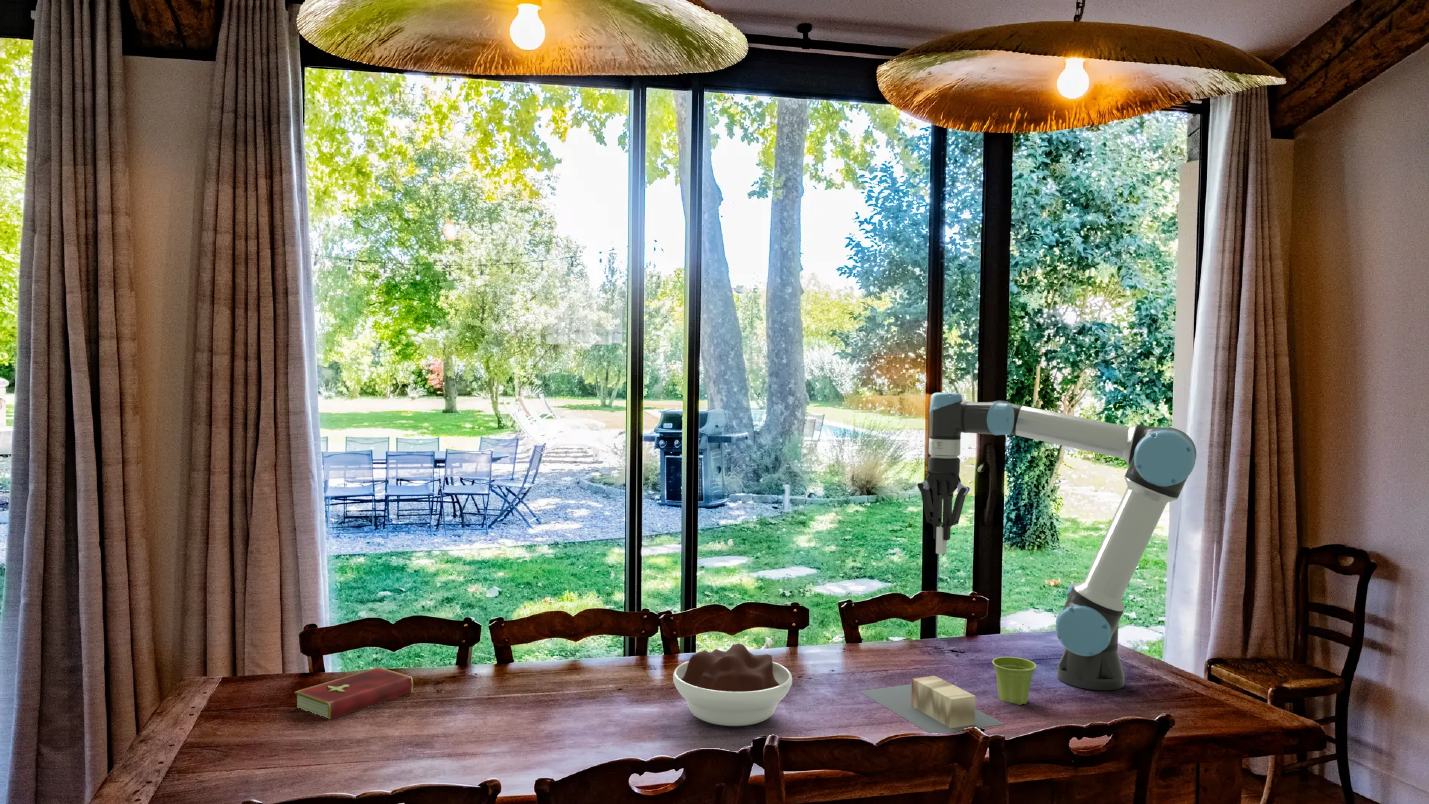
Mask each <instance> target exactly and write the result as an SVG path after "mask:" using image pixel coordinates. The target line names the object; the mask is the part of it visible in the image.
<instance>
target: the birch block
mask: <svg viewBox="0 0 1429 804" xmlns="http://www.w3.org/2000/svg"><path fill="white" fill-rule="evenodd" d="M911 684H912V693H911V706H913V707H914V708H916V709H918V710H920V711H921V712H923V713H925V714H927V715H928V716H930V717H932V718H934V719H935V720H937V721H939V722H941V723H942V724H944V725H946V726H948V727H949V728H956V727H962V726H968V725H975V709H976V695H974V694H973V693H970V692H968V691H966V690H965V689H963V688H960V687H958V686H957V685H954V684H952V683H950V682H949V681H947V680H944V679H943V678H941V677H938V676H937V675H930V676H921V677H913V678H911Z"/></svg>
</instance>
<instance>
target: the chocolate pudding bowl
mask: <svg viewBox="0 0 1429 804" xmlns="http://www.w3.org/2000/svg"><path fill="white" fill-rule="evenodd" d="M672 679H673V680H672V681H673V684H674V687H675V688H676V690H677V691H678V693H679V694H680V695H681V697H682V698H683V699H684V700H685V701H686V704H687V706H688V708H689V711H690V713H691V714H692V715H693V716H695V718H698V719H699V720H701V721H703V722H706V723H709V724H713V725H719V726H727V727H743V726H751V725H752V726H753V725H756V724H758V723H761V722H764V721H766V720H768V719H770V718H771V717H772V716H773V715H774V713H775V710H776V709H777V707H778V705H779V702H781V701H782V700H783V699H784V698H785V697H786V695H787V694H788V693H789V690H790V688H791V687H792V685H793V676H792V673H791V672H790V670H788V668H786V667H785V666H783V665H782V664H780V663H778V662H775V661H773V657H772V655H770V654H768V653H766V654H759V655H755V654H753V653H751V652H750V651H749V650H748V649H747V647H746V646H745V645H744V644H742V643H735V644H734V643H732V645H731V646H730V647H729V649H727V651H722V650H719V649H717V648H715V649H714V650H713V651H711V652H709V651H708V650H706V649H704V650H702V651H698V652H697V653H694V654H692V655H691V656H690V658H689V660H687V661H685V662H683V663H681V664H679V665H678V666H677V667H676V668H675V669H674V672H673V674H672Z"/></svg>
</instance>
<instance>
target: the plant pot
mask: <svg viewBox="0 0 1429 804" xmlns="http://www.w3.org/2000/svg"><path fill="white" fill-rule="evenodd" d="M991 662H992V664H993V666H994V671H995V676H996V684H997V695H998V696H997V697H998V699H999V700H1001V701H1002V702H1006V703H1010V704H1016V705H1019V706H1022V705H1023V704H1024V705H1026V704H1027V703H1028V699H1029V693H1030V688H1031V682H1032V677H1033V675H1034V672H1035V670H1036V668H1037V664H1036V663H1035V662H1033V661H1031V660H1029V659H1025V658H1021V657H1014V656H1012V657H1011V656H999V657H996V658H994V659H992V661H991Z"/></svg>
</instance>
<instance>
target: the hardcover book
mask: <svg viewBox="0 0 1429 804" xmlns="http://www.w3.org/2000/svg"><path fill="white" fill-rule="evenodd" d="M412 692H414V679H413V676H410V675H407V674H404V673H400V672H397V671H392V670H390V669H387V668H383V667H381V666H380V667H379V666H377V667H374V668H371V669H367V670H365V671H361V672H357V673H354V674H351V675H347V676H343V677H340V678H338V679H333V680H329V681H327V682H322V683H320V684H316V685H314V686H313V685H312V686H309V687H305V688H302V689H299V690H296V691H293V693H294V694H295V695H296V697H297V698H296V702H297V703H296V705H297V706H296V707H297V709H299V708H301V709H300V710H302V709H303V710H302V711H305V712H307V711H310V712H312V713H311V714H313V713H314V714H313V715H316V714H318V715H320V716H319V717H321V716H324V717H326V718H328V719H331V720H334V719H336V718H335V717H337V718H339V717H338V716H340V717H342V716H341V715H344V714H347V715H349V714H348V713H350V714H352V713H351V712H353V711H356V712H358V710H359V711H361V710H360V709H362V708H365V709H368V708H369V707H368V706H371V705H374V706H376V705H375V704H377V705H379V704H378V703H380V702H383V703H385V702H384V701H386V702H388V701H387V700H389V699H392V700H394V698H395V699H397V698H396V697H398V698H400V697H399V696H401V697H404V696H406V695H405V694H407V695H409V694H408V693H410V694H413V693H412ZM403 695H404V696H403ZM389 701H390V700H389ZM380 704H381V703H380ZM367 707H368V708H367ZM371 707H372V706H371ZM362 710H363V709H362ZM310 712H309V713H310ZM353 713H354V712H353ZM318 715H317V716H318ZM344 716H345V715H344ZM324 717H323V718H324ZM326 718H325V719H326ZM333 718H334V719H333Z"/></svg>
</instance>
